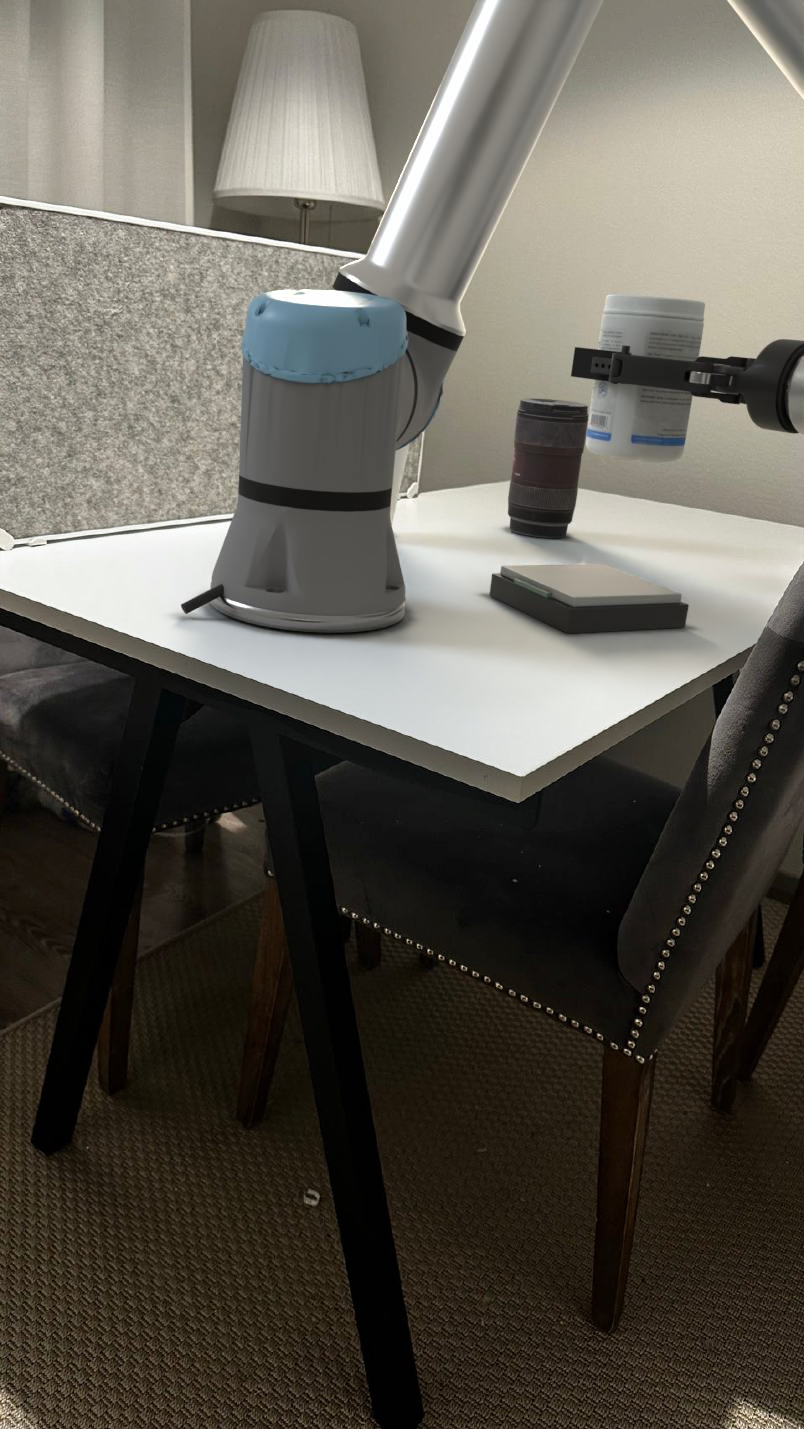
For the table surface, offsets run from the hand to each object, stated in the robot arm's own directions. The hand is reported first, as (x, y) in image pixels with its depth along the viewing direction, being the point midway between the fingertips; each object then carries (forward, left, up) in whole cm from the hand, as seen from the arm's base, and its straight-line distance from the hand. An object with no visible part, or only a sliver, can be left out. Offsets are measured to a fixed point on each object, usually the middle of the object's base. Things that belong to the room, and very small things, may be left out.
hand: (611, 365), depth 108 cm
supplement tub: (+1, -4, -9) cm, 10 cm away
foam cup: (-19, +15, -20) cm, 31 cm away
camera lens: (+4, +15, -20) cm, 25 cm away
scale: (-13, -18, -20) cm, 30 cm away
